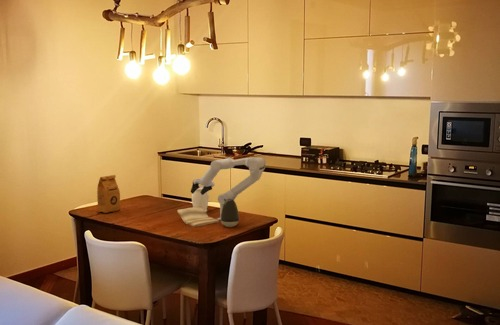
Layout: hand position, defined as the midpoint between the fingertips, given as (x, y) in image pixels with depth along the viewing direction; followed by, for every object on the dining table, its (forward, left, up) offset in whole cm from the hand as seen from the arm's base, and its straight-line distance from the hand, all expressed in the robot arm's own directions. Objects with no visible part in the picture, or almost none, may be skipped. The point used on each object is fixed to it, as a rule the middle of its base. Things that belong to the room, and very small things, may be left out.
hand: (196, 193), depth 305 cm
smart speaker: (-31, 0, -14) cm, 34 cm away
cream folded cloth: (-7, +7, -11) cm, 15 cm away
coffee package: (+41, +35, -14) cm, 56 cm away
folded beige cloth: (-16, +7, -13) cm, 22 cm away
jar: (+7, -8, -14) cm, 17 cm away
